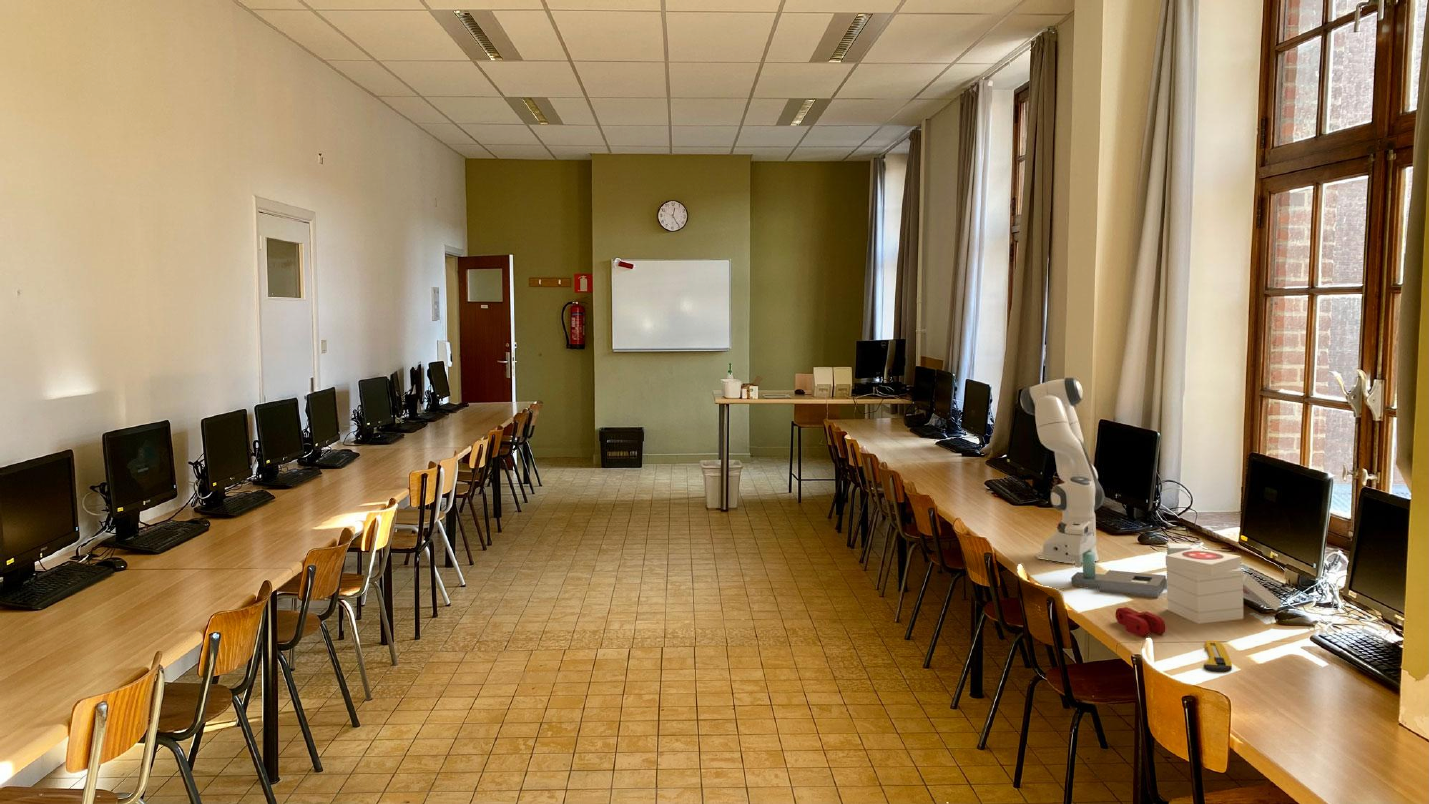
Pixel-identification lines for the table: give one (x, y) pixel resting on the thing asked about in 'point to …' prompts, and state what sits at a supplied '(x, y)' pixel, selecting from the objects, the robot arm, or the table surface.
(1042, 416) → the robot arm
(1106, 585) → the plate
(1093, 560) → the peg
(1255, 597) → the white stacked boxes
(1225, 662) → the utility knife
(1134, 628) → the mechanical linkage
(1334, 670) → the table surface
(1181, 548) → the supplement box
